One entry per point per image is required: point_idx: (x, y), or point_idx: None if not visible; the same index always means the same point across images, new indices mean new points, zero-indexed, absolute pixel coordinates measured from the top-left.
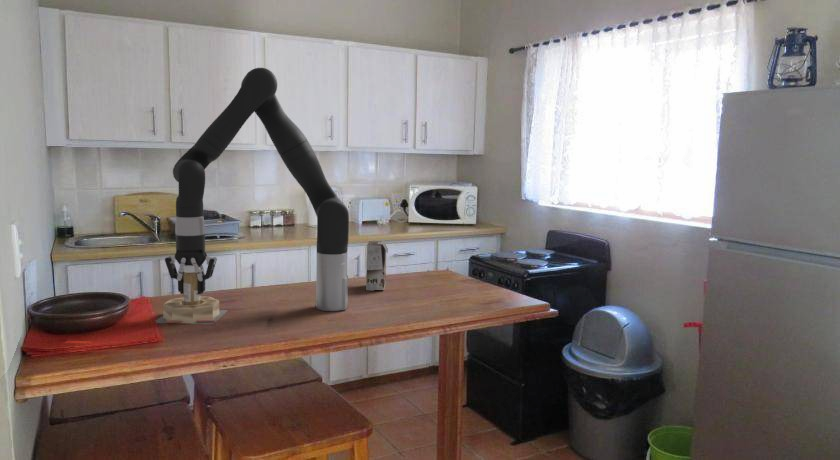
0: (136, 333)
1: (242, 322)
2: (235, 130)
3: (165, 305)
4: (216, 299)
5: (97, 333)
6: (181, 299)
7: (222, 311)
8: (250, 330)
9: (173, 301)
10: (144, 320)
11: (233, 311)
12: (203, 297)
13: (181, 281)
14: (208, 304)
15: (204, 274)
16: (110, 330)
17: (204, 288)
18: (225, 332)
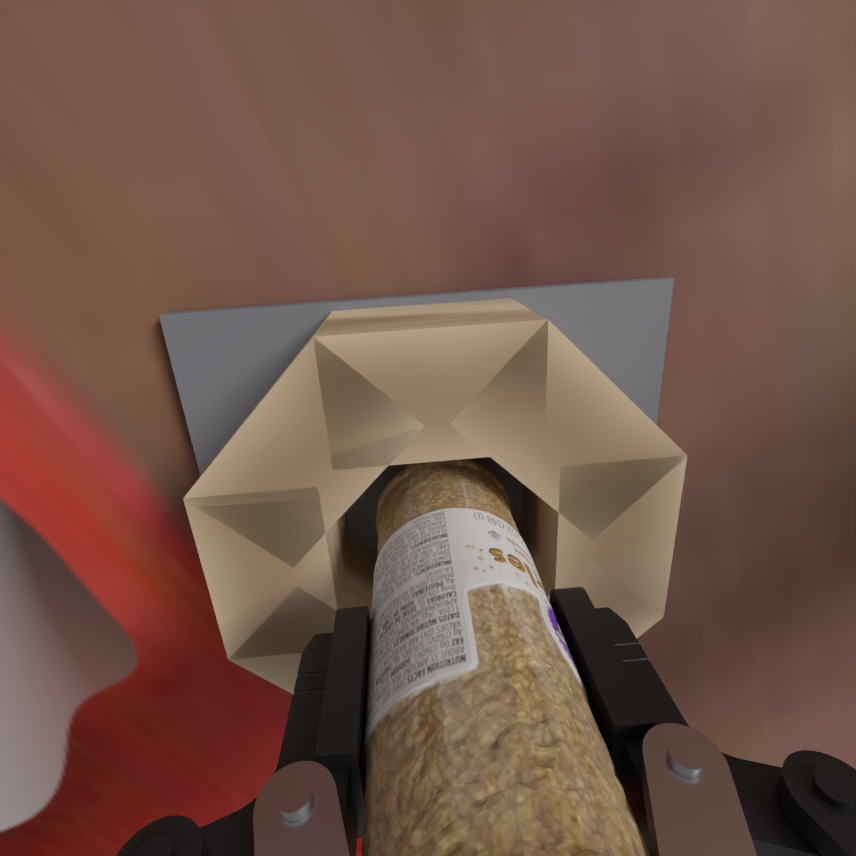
0: (266, 771)
1: (800, 512)
2: None
3: (271, 681)
4: (653, 425)
5: (67, 804)
6: (296, 491)
7: (632, 324)
8: (852, 636)
9: (263, 570)
10: (133, 581)
11: (704, 234)
12: (489, 368)
13: (356, 831)
14: (621, 597)
15: (741, 830)
16: (91, 761)
17: (626, 646)
18: (720, 685)
